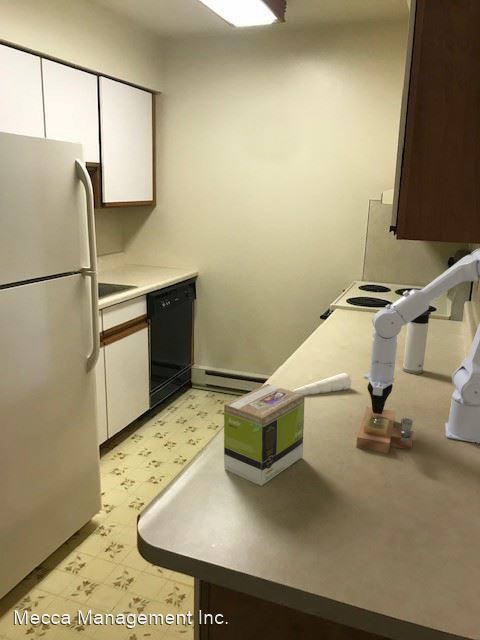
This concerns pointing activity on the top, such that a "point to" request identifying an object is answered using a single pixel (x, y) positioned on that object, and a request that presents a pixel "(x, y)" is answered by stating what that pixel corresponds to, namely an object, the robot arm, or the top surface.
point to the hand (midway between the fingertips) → (377, 412)
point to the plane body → (379, 441)
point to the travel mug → (416, 344)
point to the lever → (406, 429)
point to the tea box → (263, 433)
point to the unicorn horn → (326, 385)
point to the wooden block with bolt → (376, 426)
